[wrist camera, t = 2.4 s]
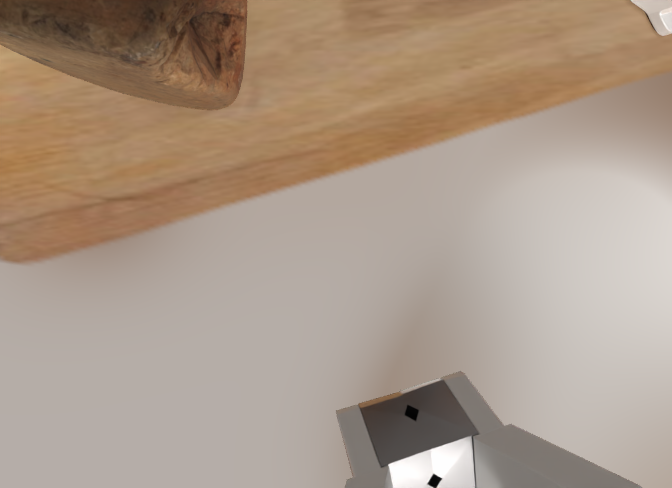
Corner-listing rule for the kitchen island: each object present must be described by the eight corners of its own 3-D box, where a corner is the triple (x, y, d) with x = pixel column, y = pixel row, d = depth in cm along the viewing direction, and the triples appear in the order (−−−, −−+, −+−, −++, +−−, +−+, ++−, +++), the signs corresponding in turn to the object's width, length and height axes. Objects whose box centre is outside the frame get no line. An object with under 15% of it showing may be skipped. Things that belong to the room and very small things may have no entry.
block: (84, 84, 30) (-162, -3, 11) (97, -26, 28) (-158, -339, 10) (232, 124, 33) (237, 109, 14) (252, 28, 32) (285, -129, 13)
